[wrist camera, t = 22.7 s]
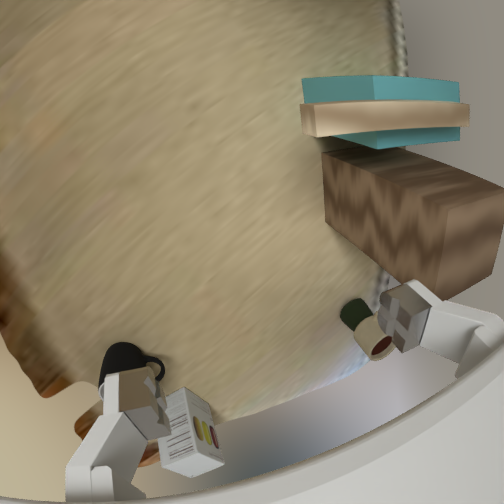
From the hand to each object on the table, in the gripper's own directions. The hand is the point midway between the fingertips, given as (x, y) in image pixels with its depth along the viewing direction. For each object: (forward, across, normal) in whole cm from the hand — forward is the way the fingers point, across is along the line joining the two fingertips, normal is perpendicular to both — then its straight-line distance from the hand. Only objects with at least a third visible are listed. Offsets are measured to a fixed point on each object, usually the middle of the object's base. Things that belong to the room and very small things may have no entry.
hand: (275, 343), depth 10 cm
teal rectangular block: (+37, -26, -4) cm, 46 cm away
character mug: (+37, -27, +38) cm, 60 cm away
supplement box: (+37, +14, +51) cm, 65 cm away
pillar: (+37, -28, +10) cm, 47 cm away
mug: (+37, +18, +32) cm, 52 cm away
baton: (+20, -21, -4) cm, 30 cm away
